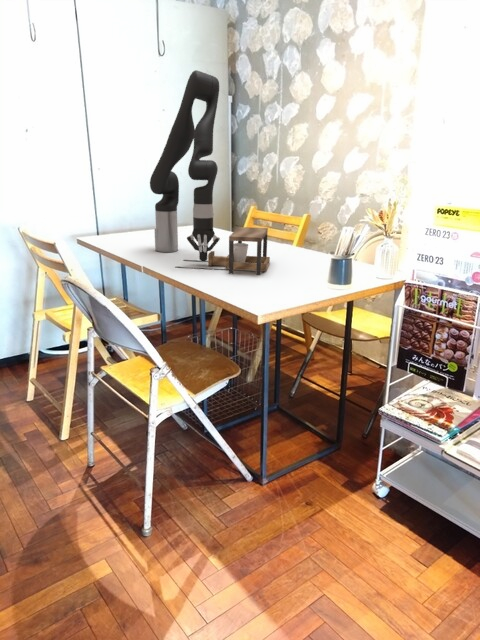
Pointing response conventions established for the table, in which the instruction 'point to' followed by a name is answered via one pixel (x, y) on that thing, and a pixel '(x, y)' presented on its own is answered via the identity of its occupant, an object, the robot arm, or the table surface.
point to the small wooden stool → (250, 236)
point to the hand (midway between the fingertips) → (203, 261)
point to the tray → (248, 265)
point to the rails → (212, 268)
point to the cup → (240, 252)
